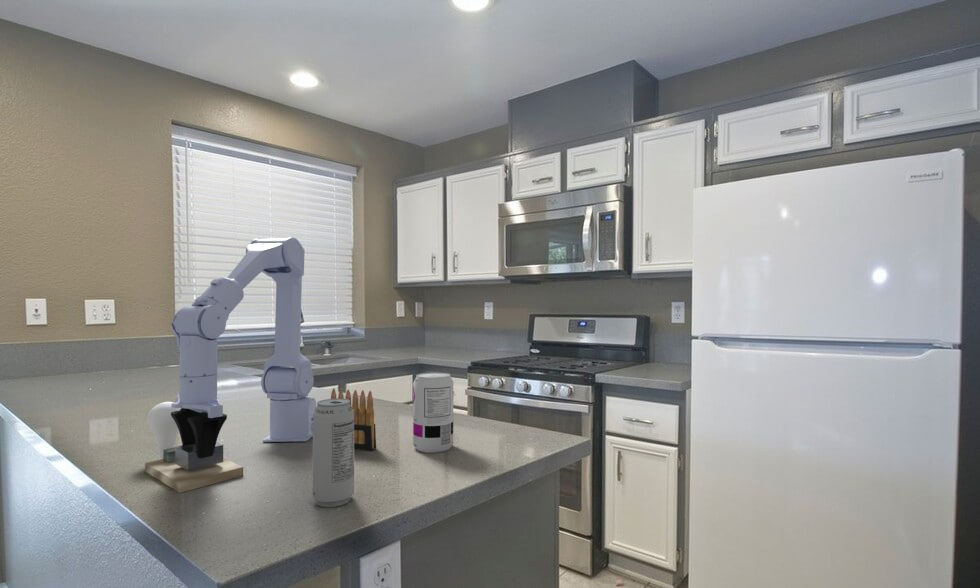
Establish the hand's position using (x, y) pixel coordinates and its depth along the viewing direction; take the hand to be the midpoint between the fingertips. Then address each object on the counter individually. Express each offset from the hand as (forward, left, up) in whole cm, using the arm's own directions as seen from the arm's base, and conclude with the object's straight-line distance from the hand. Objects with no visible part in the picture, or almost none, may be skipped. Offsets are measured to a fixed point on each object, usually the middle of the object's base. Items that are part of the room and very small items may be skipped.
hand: (198, 453), depth 88 cm
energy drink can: (-26, +12, -4) cm, 29 cm away
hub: (0, 0, -2) cm, 2 cm away
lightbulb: (+11, -9, -4) cm, 15 cm away
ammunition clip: (-22, -16, -4) cm, 28 cm away
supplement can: (-39, -15, -4) cm, 43 cm away
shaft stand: (+2, -1, -4) cm, 4 cm away
